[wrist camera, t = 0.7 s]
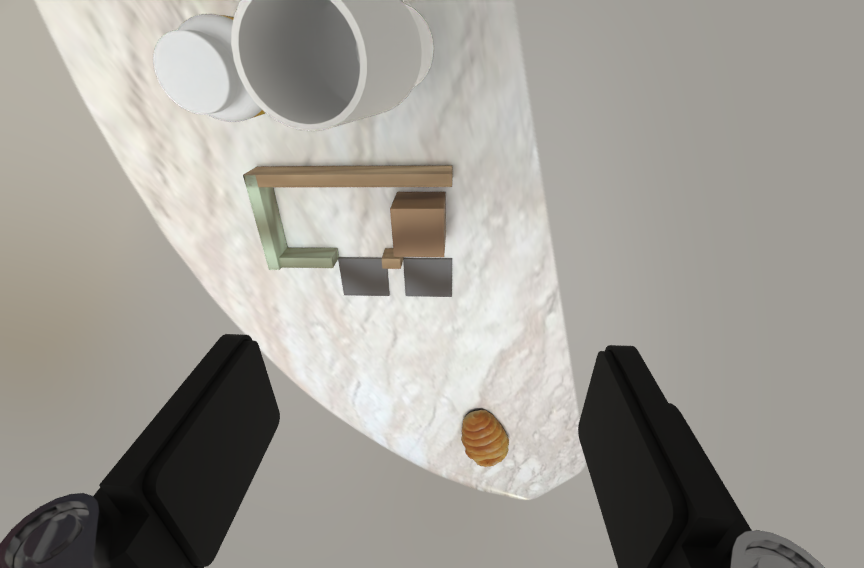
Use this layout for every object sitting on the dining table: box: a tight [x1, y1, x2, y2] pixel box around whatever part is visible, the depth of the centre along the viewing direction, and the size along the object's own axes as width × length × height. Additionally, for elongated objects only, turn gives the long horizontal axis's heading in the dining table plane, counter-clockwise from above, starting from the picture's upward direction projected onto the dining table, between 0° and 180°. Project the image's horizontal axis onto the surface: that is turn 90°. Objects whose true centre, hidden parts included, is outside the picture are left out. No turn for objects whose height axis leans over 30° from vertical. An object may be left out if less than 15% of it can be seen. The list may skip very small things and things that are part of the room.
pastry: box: [461, 410, 509, 467], centre depth 58 cm, size 9×7×4 cm
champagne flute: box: [231, 0, 434, 131], centre depth 24 cm, size 7×7×24 cm
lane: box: [243, 166, 452, 297], centre depth 42 cm, size 15×20×3 cm
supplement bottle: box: [153, 14, 265, 122], centre depth 30 cm, size 7×7×13 cm
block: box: [390, 192, 446, 257], centre depth 40 cm, size 5×5×5 cm
